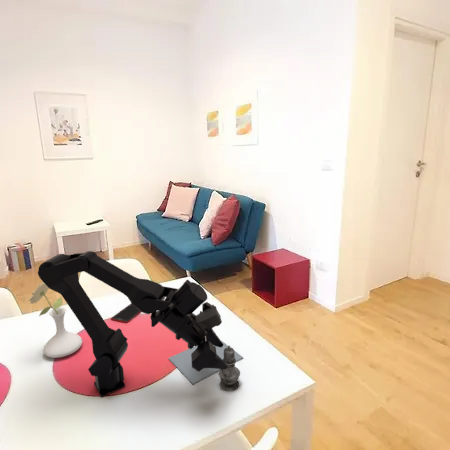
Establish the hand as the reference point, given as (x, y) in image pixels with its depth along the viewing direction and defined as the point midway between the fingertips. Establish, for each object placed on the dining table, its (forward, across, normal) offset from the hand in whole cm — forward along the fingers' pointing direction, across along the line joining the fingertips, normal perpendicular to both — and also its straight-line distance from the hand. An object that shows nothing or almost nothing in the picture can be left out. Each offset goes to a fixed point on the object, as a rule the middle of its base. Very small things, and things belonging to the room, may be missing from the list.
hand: (224, 356), depth 87 cm
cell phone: (-16, +45, +29) cm, 56 cm away
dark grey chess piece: (+7, 0, +6) cm, 9 cm away
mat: (+3, +12, +9) cm, 15 cm away
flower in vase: (-29, +22, +41) cm, 55 cm away
